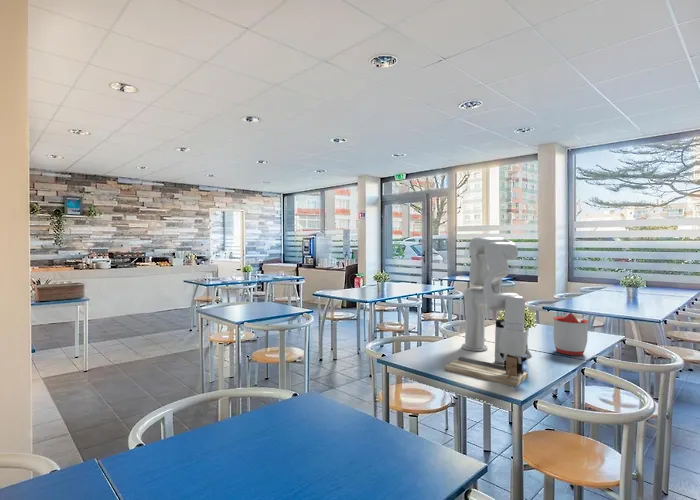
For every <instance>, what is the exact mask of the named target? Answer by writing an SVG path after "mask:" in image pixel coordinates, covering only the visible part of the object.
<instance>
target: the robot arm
mask: <svg viewBox="0 0 700 500" xmlns="http://www.w3.org/2000/svg"><path fill="white" fill-rule="evenodd" d="M468 246H469V247H468V250H469V254H470V265H469V277H468V278H469V283H470V284H471V285H472V286H470V287H468V288H466V289H465V290H464V294H463V295H464V296H463V297H464V304H465V307H464V308H465V332H464V333H465V335H464V343H463V344H462V345H461V348H462V349H464V350H467V351H471V352H472V351H473V352H485V351H487V350H488V346H487V345H485V342H486V341H487V340H486V338H485V330H486V329H485V327H486V322H485V321H486V318H485V317H486V315H485V312H484V310H483V309H482V308H481V307H487V309H488V310H490V311H501V312H502V311H504V317H503V318H504V322H501V325H503V326H504V328H502V331H501V336H500V344H499V347H498V348H497V350H496V352H497V353H498V354H500V356H501V357H502V358H503V360H504V365H503V366H504V368H505V371H506V357H507V356H508V355H513V356H518V363H517V373H520V372H521V371H522V369H523V363H524V362H526V361H527V360H529V359H531V358H532V357H533V356H532V354H531V352H530V350H529V347H528V346H529V345H528V336H527V335H528V334H527V331H526V330H525V314H526V313H525V311H526V309H525V308H526V306H525V305H526V299H525V297H524V296H521V295H519V294H518V293H516V292H502V284H503V279H505V278H506V277H508V276H509V274H510V267H509V264H508V261H515V260H516V259H517V258H518V255H519V250H518V247H517V245H516V243H515V242H513V241H512V240H510V239H507V238H505V237H493V236H492V237H490V236H489V237H487V236H486V237H485V236H481V237H473V238H471V239H470V241H469V245H468Z"/></svg>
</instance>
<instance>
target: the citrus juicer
mask: <svg viewBox="0 0 700 500" xmlns="http://www.w3.org/2000/svg"><path fill="white" fill-rule="evenodd" d="M588 323H589V320H588V319H585V318H583V319H581V320H580V321H578V319H577V317H576V316H574V314H573V313H569V314H567V315H565V316H554V317H553V344H554V348H555V351H556V352H557V353H558V352H559V354H562V355H566V354H567V356H571V355H575V356H583V354H584V353H585V352H586V347H587V344H588V333H589V332H588V330H589V324H588Z"/></svg>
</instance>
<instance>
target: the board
mask: <svg viewBox="0 0 700 500" xmlns="http://www.w3.org/2000/svg"><path fill="white" fill-rule="evenodd" d="M447 370H448V371H449V372H451V371H452V373H456V374H461V375H465V376H469V377H475V378H478V379H482V380H486V381H491V382H494V383H500V384H504V385H508V386H512V387H515V388H516V387H519V386H520V384H522V383H523V382H524V381H525V380H527V378H529V373H528V372H525V371H524V369H523V368H522V371H521V372H520V374H518V375H517V376H513V375H508V374H506V371H505V368H504V365H500V364H497V363H494V362H493V363H492V362H488V361H483V360H477V359H474V358H467V357H463V356H458V358H457V359H455V360H453V361H451V362H449V363H447V364H445V365H444V371H447Z"/></svg>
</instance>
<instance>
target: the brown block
mask: <svg viewBox="0 0 700 500" xmlns="http://www.w3.org/2000/svg"><path fill="white" fill-rule="evenodd" d="M517 363H518V356H513V355H508V356H507V357H506V374H508V375H513V376H517V375H518V374H520V373H517Z"/></svg>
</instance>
